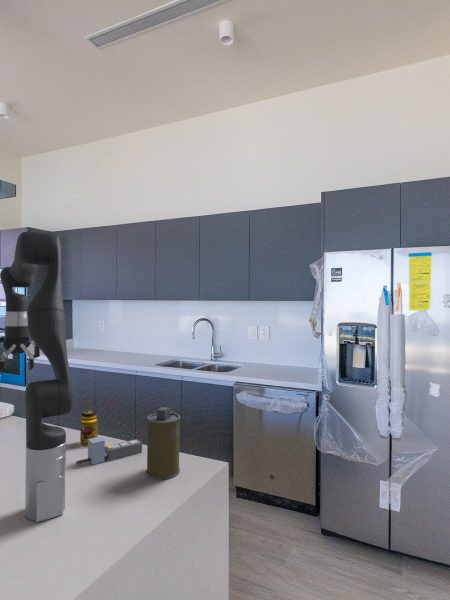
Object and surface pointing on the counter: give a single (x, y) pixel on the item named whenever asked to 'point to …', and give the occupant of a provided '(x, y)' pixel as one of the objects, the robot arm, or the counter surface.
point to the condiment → (88, 427)
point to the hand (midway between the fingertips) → (16, 371)
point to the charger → (95, 451)
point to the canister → (163, 444)
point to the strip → (123, 449)
